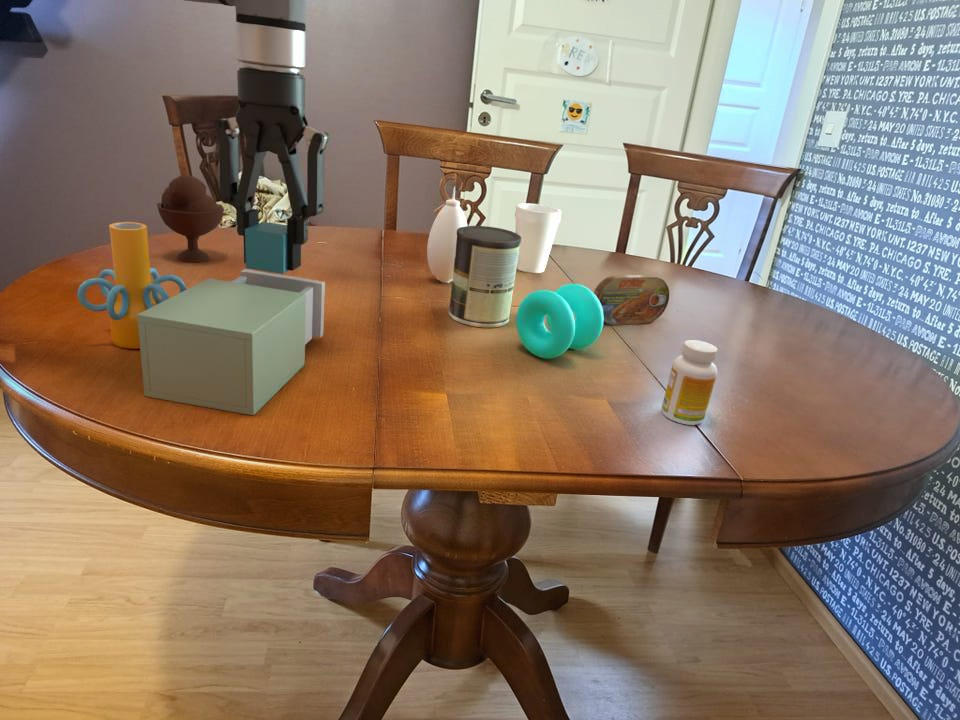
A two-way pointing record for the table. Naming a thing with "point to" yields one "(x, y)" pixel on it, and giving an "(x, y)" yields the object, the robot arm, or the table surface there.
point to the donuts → (559, 320)
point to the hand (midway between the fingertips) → (272, 264)
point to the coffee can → (483, 276)
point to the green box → (222, 345)
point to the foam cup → (535, 235)
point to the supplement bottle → (690, 383)
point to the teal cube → (266, 247)
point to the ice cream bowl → (190, 214)
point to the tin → (632, 299)
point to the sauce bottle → (445, 240)
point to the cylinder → (128, 283)
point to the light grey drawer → (294, 284)
